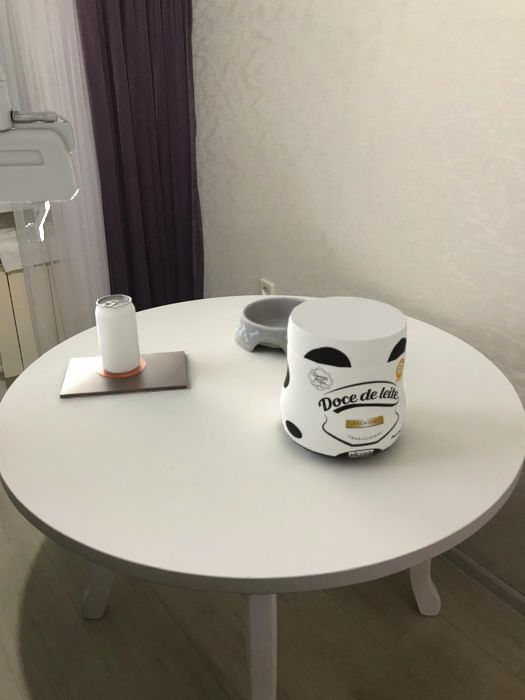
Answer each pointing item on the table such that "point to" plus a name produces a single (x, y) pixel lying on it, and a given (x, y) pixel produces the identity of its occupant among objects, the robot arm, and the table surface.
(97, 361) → the placemat
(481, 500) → the table surface
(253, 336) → the dog bowl
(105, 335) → the can
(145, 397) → the table surface
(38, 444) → the table surface
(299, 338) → the milk container
